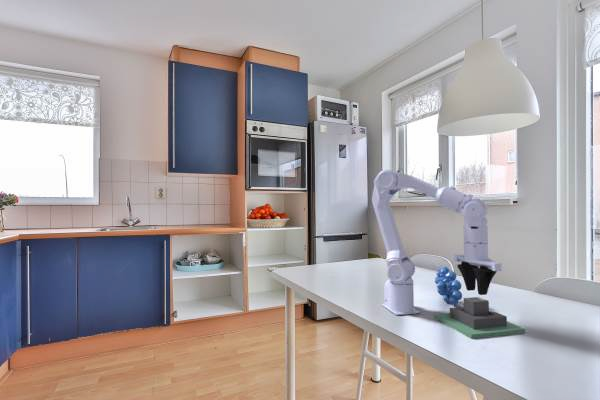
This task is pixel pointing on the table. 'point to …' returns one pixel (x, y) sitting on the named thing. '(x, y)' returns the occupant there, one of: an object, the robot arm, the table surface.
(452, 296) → the grapes
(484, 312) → the plug
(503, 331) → the board
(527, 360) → the table surface
